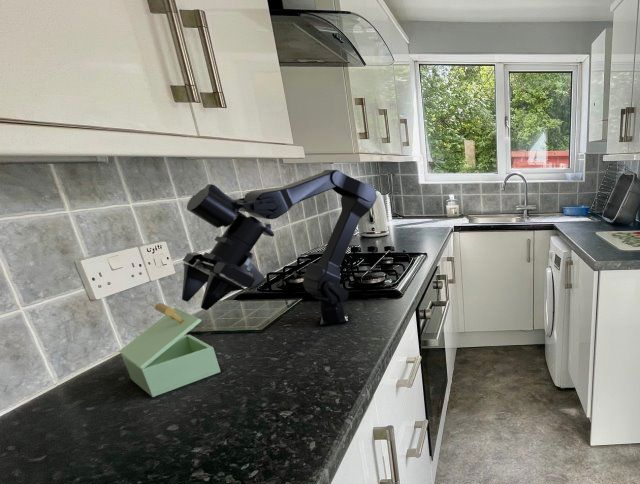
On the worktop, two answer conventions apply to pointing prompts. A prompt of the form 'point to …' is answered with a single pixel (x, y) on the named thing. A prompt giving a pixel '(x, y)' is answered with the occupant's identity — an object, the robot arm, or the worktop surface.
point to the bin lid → (159, 335)
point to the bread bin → (175, 366)
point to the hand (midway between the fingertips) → (193, 304)
